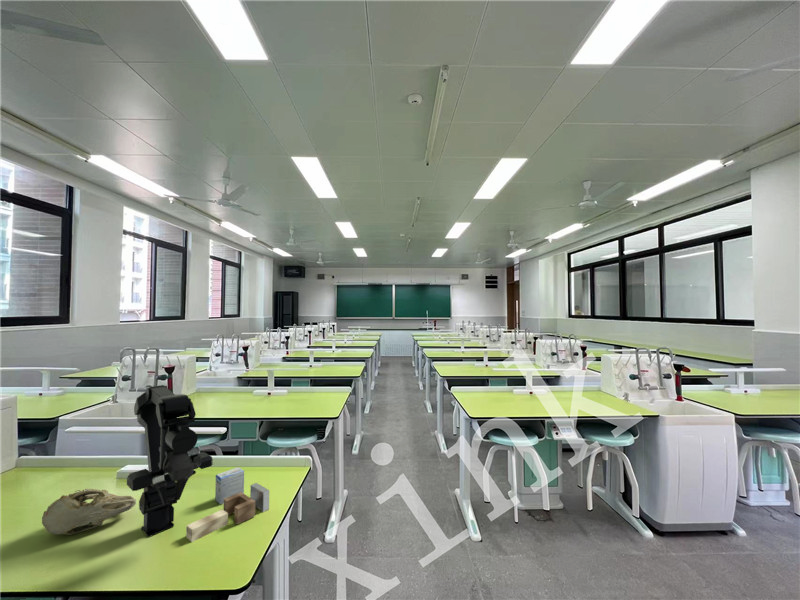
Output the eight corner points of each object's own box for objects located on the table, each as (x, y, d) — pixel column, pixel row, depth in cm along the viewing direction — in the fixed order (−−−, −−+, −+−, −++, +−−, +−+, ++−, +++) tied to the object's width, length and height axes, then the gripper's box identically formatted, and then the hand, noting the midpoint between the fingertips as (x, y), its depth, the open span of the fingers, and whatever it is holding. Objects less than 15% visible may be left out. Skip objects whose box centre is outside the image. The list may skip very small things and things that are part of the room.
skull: (119, 514, 113) (139, 520, 105) (32, 539, 96) (48, 549, 89) (123, 477, 116) (143, 480, 108) (39, 495, 99) (55, 501, 91)
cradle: (237, 524, 102) (237, 508, 102) (223, 513, 107) (223, 499, 108) (255, 515, 106) (255, 501, 106) (240, 506, 112) (240, 491, 112)
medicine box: (238, 491, 122) (238, 466, 122) (244, 495, 119) (244, 470, 119) (214, 500, 116) (215, 474, 116) (220, 505, 113) (221, 478, 113)
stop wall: (263, 512, 109) (263, 492, 109) (250, 503, 114) (250, 485, 114) (269, 509, 110) (269, 490, 111) (255, 501, 115) (256, 482, 116)
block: (191, 543, 94) (192, 529, 95) (186, 538, 96) (186, 525, 97) (227, 525, 102) (228, 513, 103) (222, 521, 105) (222, 509, 105)
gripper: (140, 462, 81) (138, 530, 80) (221, 439, 96) (220, 497, 95) (127, 451, 88) (125, 513, 87) (204, 431, 103) (203, 485, 102)
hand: (171, 502), depth 93 cm, fingers open, 3 cm apart
